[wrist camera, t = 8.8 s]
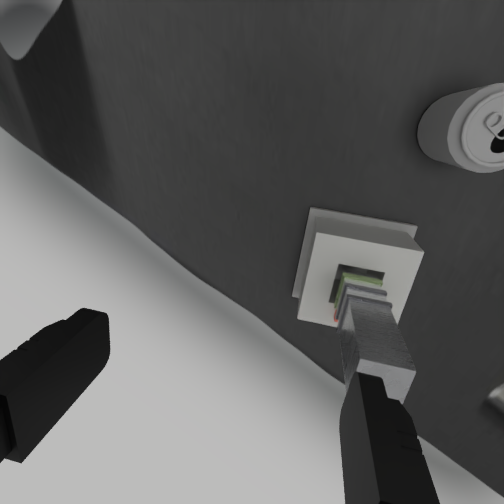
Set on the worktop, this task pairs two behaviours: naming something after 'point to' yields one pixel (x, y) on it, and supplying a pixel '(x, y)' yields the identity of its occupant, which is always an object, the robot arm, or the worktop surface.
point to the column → (371, 334)
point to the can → (466, 129)
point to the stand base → (353, 260)
